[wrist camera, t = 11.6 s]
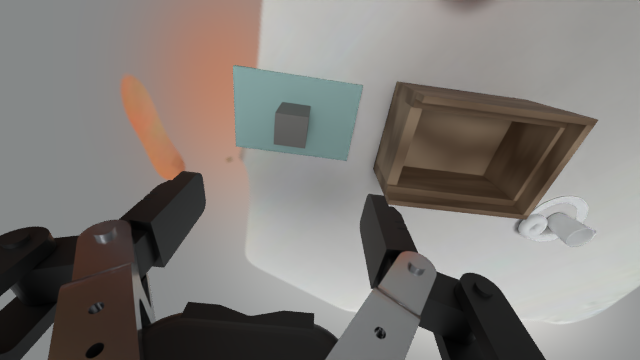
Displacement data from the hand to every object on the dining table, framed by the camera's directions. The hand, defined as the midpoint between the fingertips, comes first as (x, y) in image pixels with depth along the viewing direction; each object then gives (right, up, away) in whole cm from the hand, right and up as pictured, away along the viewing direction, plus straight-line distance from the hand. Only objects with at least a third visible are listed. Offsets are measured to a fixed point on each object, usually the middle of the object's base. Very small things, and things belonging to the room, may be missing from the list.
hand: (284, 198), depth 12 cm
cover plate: (-1, +8, +15) cm, 17 cm away
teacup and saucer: (+32, -2, +21) cm, 38 cm away
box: (+16, +6, +15) cm, 23 cm away
